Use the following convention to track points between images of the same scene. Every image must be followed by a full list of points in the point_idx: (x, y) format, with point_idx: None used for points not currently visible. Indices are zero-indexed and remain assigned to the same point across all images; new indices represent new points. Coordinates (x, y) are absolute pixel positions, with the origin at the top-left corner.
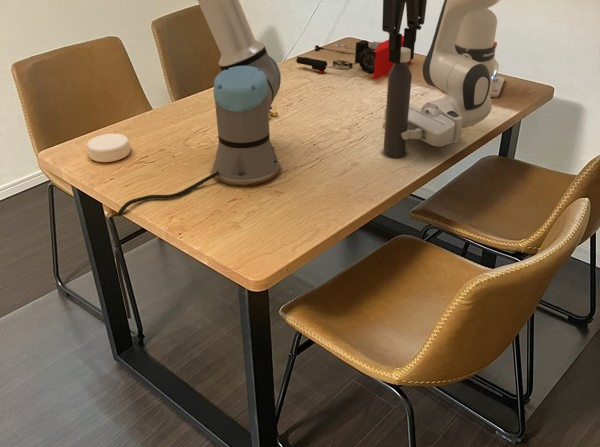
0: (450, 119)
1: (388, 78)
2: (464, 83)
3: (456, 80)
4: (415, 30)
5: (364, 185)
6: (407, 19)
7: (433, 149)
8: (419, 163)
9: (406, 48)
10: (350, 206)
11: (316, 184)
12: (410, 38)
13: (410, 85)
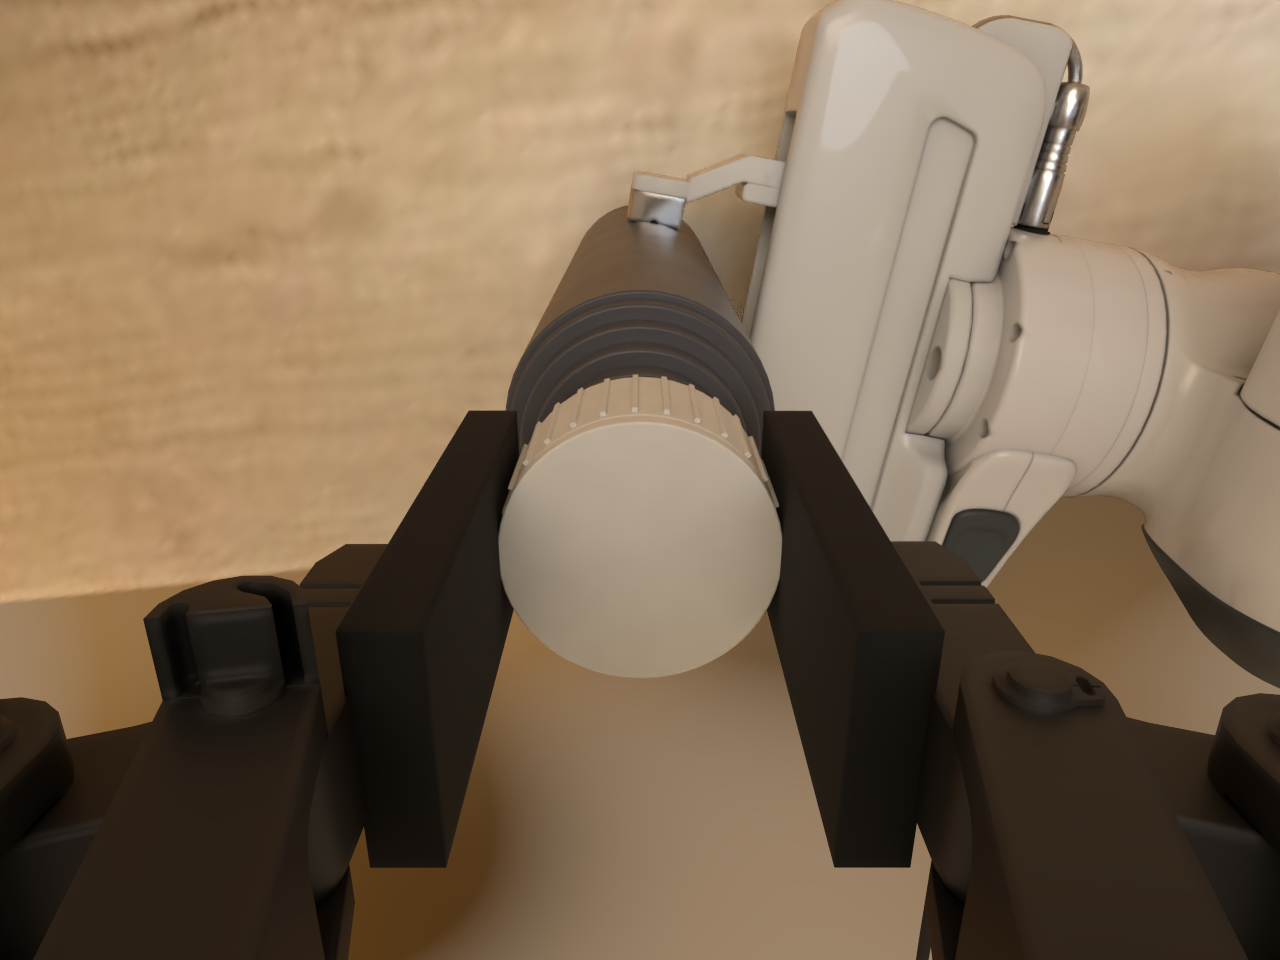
0: None
1: (530, 341)
2: (1229, 617)
3: (1253, 542)
4: (898, 863)
5: (242, 425)
6: (982, 828)
7: None
8: None
9: (748, 562)
10: (63, 518)
11: (20, 245)
12: (809, 693)
13: None
